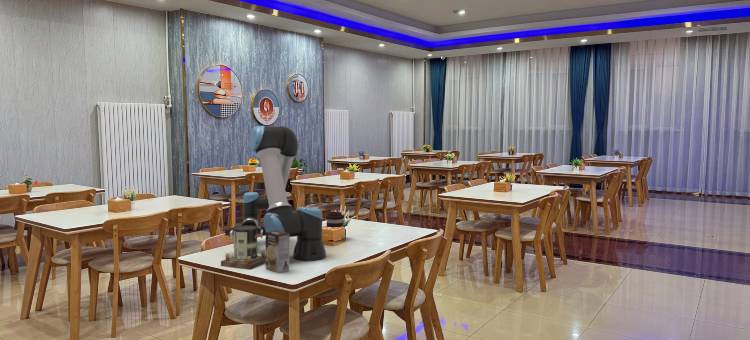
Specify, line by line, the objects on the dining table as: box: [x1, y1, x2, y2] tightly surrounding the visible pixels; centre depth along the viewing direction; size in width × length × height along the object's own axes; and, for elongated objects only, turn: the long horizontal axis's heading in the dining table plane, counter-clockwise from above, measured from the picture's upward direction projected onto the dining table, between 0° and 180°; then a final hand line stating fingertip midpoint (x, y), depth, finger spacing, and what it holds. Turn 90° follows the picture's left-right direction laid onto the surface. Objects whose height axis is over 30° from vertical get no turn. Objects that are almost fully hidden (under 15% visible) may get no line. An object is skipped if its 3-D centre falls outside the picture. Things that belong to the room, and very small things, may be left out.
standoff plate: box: [220, 250, 266, 270], centre depth 234 cm, size 15×15×5 cm
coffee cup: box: [325, 211, 345, 228], centre depth 284 cm, size 10×10×15 cm
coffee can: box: [232, 225, 258, 262], centre depth 233 cm, size 10×10×14 cm
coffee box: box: [265, 230, 290, 274], centre depth 224 cm, size 9×6×16 cm
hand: (246, 235), depth 239 cm, fingers open, 13 cm apart
